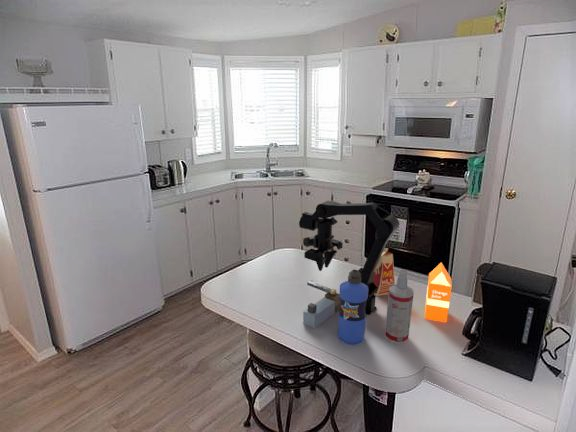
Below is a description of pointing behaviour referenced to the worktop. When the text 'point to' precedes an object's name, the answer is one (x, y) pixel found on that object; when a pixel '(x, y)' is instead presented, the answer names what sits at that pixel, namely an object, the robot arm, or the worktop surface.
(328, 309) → the blue-grey block
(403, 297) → the spray bottle
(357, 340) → the blue bottle
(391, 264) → the milk carton
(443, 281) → the orange juice
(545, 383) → the worktop surface
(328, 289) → the bar
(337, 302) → the tan wooden block
